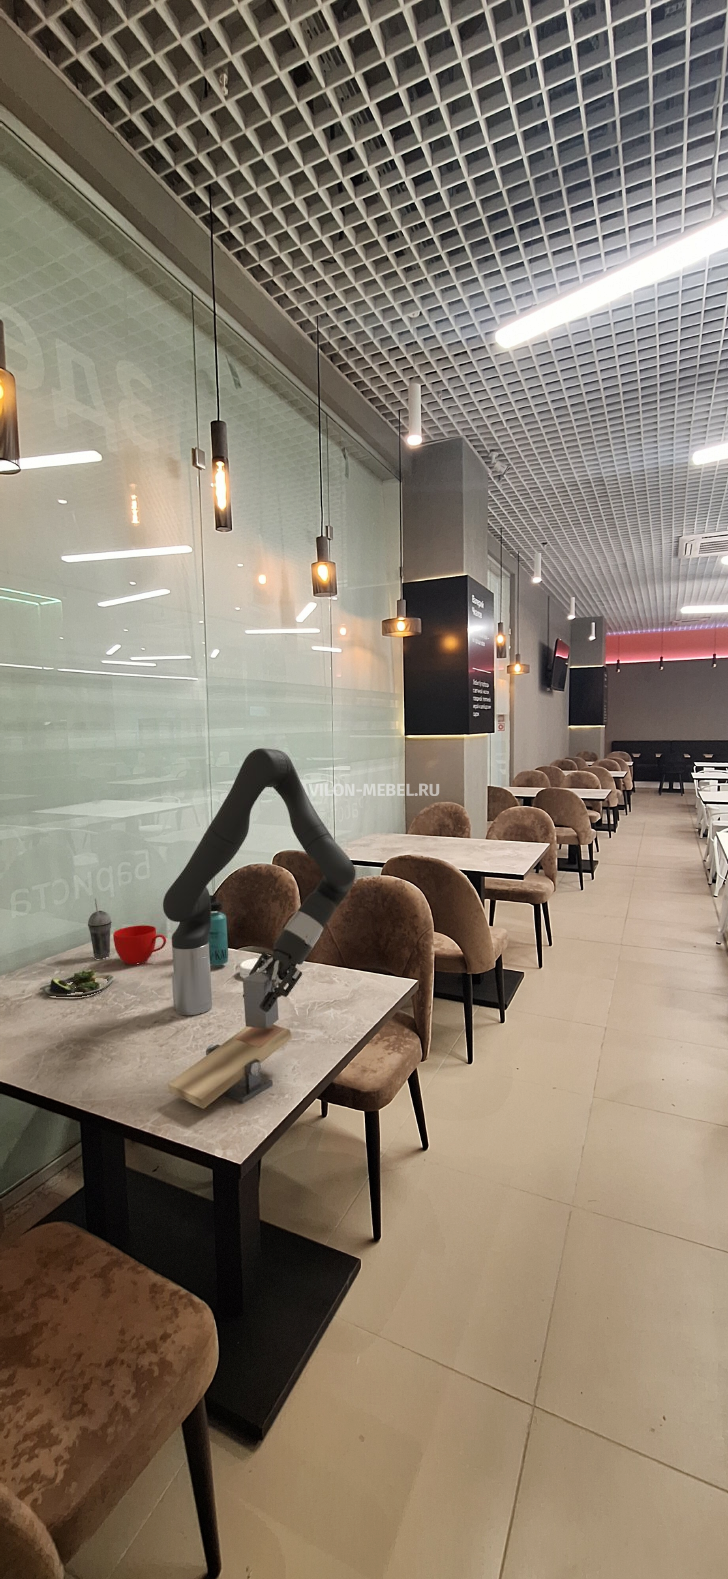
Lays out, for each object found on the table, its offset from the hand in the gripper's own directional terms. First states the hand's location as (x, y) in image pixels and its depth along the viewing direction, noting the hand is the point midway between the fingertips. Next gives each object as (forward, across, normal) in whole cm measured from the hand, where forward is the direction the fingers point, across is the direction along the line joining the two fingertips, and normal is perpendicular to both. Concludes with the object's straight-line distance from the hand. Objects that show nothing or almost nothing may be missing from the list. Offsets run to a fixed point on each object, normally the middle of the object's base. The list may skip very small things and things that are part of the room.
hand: (254, 1004), depth 139 cm
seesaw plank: (+11, +2, +2) cm, 11 cm away
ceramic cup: (+6, -87, +14) cm, 88 cm away
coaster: (-9, -52, +30) cm, 60 cm away
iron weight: (+2, 0, +4) cm, 5 cm away
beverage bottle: (-5, -66, +26) cm, 71 cm away
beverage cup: (+12, -100, +8) cm, 101 cm away
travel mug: (-7, -76, +27) cm, 81 cm away
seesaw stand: (+15, +2, +5) cm, 16 cm away
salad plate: (+22, -76, -2) cm, 80 cm away
